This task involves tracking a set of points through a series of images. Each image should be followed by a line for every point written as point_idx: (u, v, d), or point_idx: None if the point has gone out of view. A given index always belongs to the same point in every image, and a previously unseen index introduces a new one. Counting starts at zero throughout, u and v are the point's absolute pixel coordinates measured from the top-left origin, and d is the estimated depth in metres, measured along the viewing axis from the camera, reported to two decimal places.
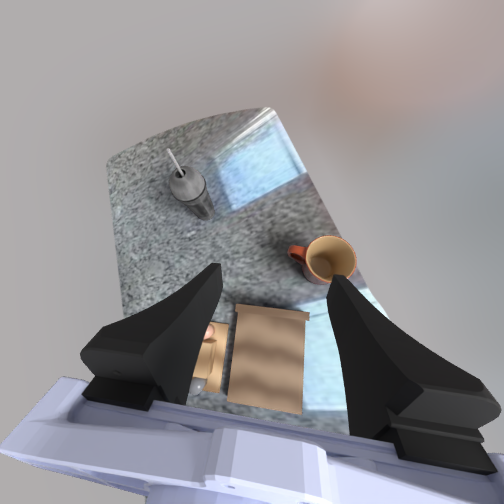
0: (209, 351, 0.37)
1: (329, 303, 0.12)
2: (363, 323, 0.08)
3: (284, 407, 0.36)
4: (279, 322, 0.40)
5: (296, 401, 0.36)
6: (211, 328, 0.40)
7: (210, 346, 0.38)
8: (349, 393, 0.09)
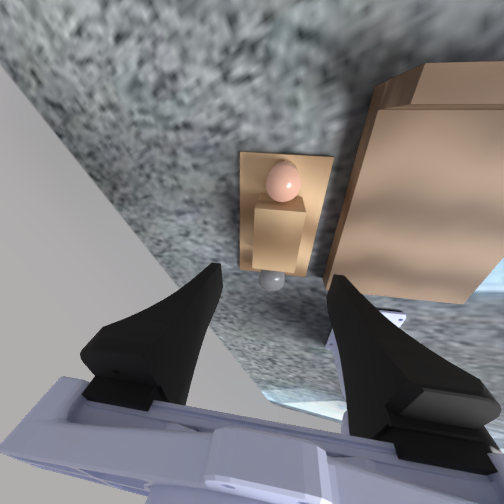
0: (300, 228, 0.16)
1: (329, 303, 0.12)
2: (362, 323, 0.08)
3: (433, 295, 0.20)
4: None
5: (462, 290, 0.20)
6: (298, 172, 0.15)
7: (302, 217, 0.15)
8: (349, 393, 0.09)
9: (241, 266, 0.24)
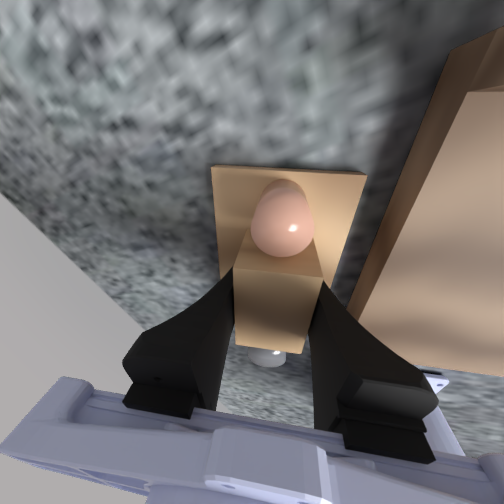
0: (312, 299, 0.09)
1: None
2: (325, 318, 0.08)
3: (499, 370, 0.14)
4: None
5: None
6: (308, 206, 0.08)
7: (317, 284, 0.09)
8: (315, 388, 0.09)
9: None
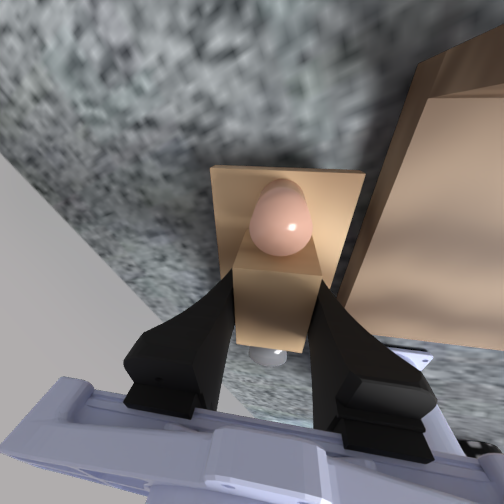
0: (312, 297, 0.09)
1: None
2: (324, 318, 0.08)
3: (474, 341, 0.16)
4: None
5: None
6: (306, 205, 0.08)
7: (316, 283, 0.09)
8: (314, 387, 0.09)
9: None
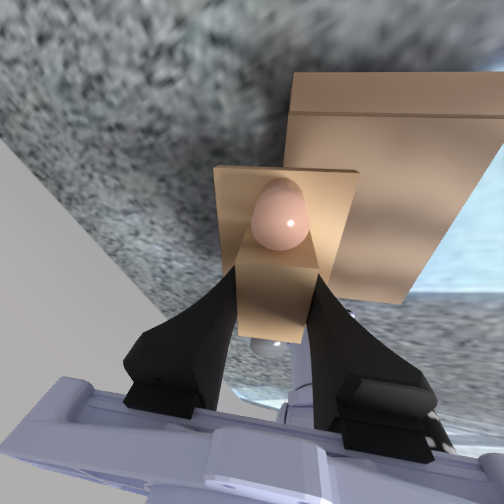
0: (310, 289, 0.10)
1: None
2: (325, 318, 0.08)
3: (371, 296, 0.21)
4: (417, 139, 0.13)
5: (397, 290, 0.20)
6: (304, 203, 0.09)
7: (313, 275, 0.09)
8: (315, 388, 0.09)
9: None
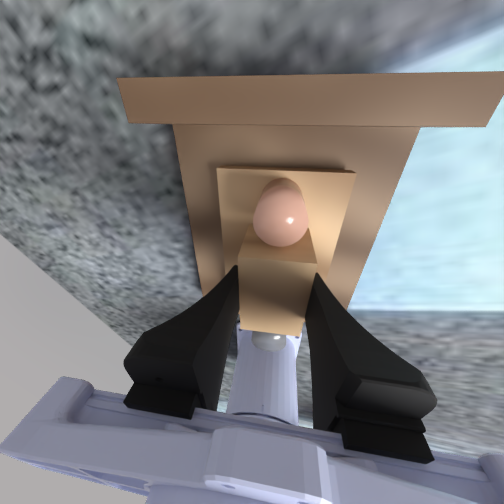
0: (308, 284, 0.10)
1: None
2: (324, 318, 0.08)
3: None
4: (316, 150, 0.12)
5: None
6: (303, 201, 0.10)
7: (312, 270, 0.10)
8: (314, 387, 0.09)
9: None
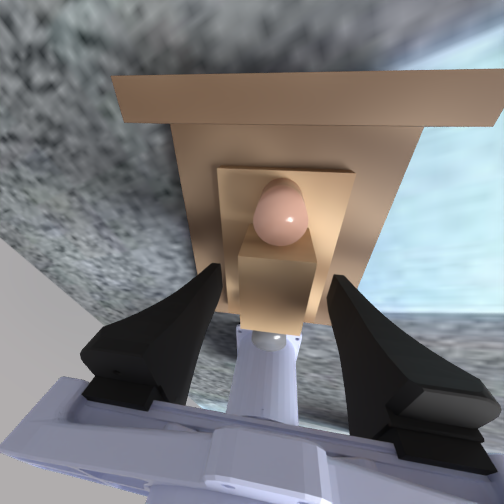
0: (308, 283, 0.10)
1: (330, 303, 0.12)
2: (362, 323, 0.08)
3: None
4: (317, 150, 0.11)
5: None
6: (303, 201, 0.10)
7: (312, 269, 0.10)
8: (349, 393, 0.09)
9: (230, 310, 0.18)
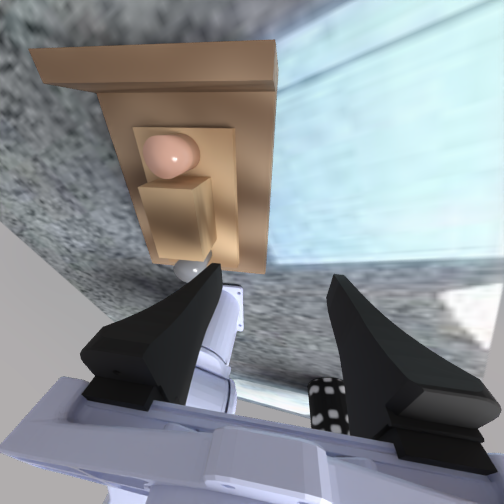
0: (192, 208, 0.14)
1: (329, 303, 0.12)
2: (362, 323, 0.08)
3: None
4: (206, 112, 0.15)
5: (256, 260, 0.22)
6: (182, 144, 0.13)
7: (191, 196, 0.13)
8: (349, 393, 0.09)
9: (169, 259, 0.22)
